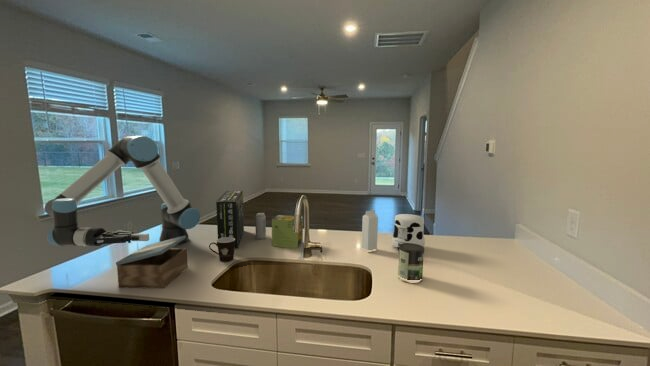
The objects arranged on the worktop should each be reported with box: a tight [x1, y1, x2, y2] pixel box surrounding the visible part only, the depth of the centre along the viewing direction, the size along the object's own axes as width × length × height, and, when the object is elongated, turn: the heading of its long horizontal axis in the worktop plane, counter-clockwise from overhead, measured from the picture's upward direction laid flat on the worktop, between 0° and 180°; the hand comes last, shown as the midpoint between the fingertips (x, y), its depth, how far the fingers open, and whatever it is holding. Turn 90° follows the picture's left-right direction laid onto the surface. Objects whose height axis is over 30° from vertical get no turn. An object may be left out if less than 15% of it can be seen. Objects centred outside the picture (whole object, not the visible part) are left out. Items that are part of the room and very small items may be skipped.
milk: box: [361, 210, 379, 250], centre depth 161 cm, size 6×6×22 cm
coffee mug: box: [208, 237, 235, 263], centre depth 147 cm, size 12×9×10 cm
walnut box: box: [116, 247, 189, 289], centre depth 127 cm, size 18×20×9 cm
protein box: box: [271, 214, 304, 249], centre depth 170 cm, size 10×15×16 cm
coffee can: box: [397, 243, 425, 280], centre depth 128 cm, size 10×10×14 cm
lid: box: [115, 235, 186, 266], centre depth 126 cm, size 18×20×1 cm
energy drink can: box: [254, 212, 267, 240], centre depth 181 cm, size 6×6×15 cm
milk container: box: [391, 213, 426, 250], centre depth 165 cm, size 17×17×18 cm
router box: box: [215, 190, 245, 250], centre depth 177 cm, size 36×11×27 cm, turn 10°
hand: (148, 237), depth 125 cm, fingers closed
